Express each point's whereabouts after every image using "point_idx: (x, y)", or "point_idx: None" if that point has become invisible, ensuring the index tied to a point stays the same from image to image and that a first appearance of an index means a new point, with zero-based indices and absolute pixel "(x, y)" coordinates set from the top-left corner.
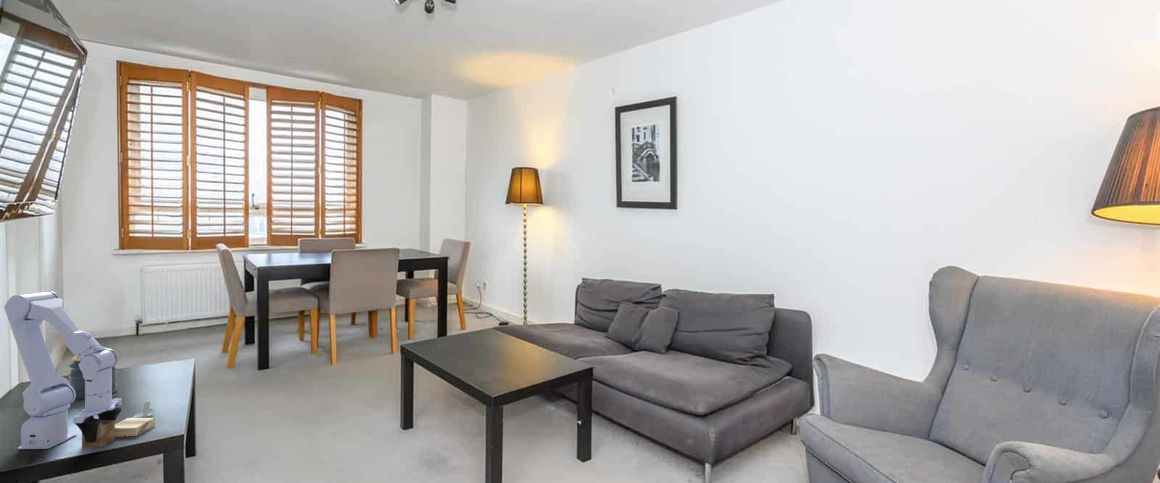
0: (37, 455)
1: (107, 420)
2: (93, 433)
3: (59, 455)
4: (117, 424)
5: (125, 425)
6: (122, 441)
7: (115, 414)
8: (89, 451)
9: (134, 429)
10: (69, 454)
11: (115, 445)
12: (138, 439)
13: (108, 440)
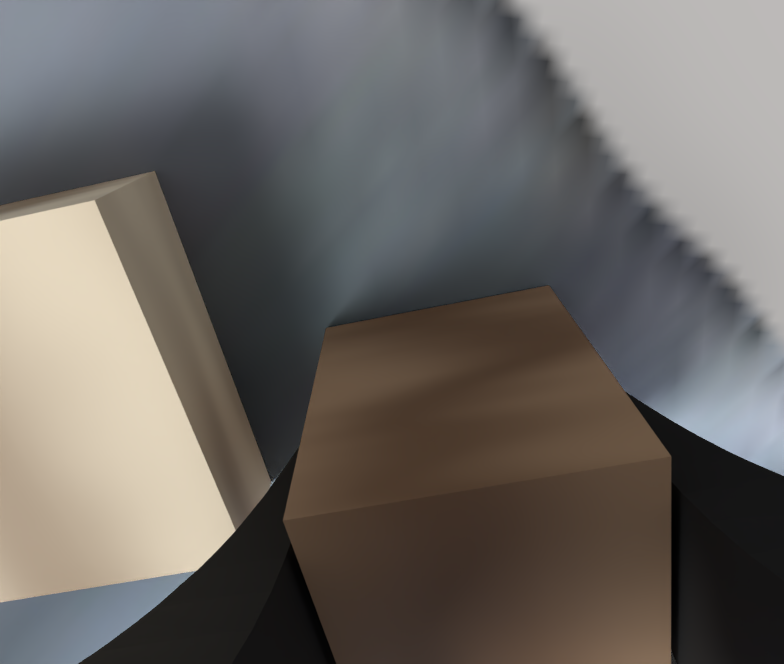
0: None
1: (330, 615)
2: (706, 442)
3: None
4: (111, 553)
5: (91, 439)
6: (338, 194)
7: (225, 640)
8: (662, 309)
9: (115, 215)
10: (734, 432)
11: (469, 163)
12: (221, 19)
13: (428, 325)
